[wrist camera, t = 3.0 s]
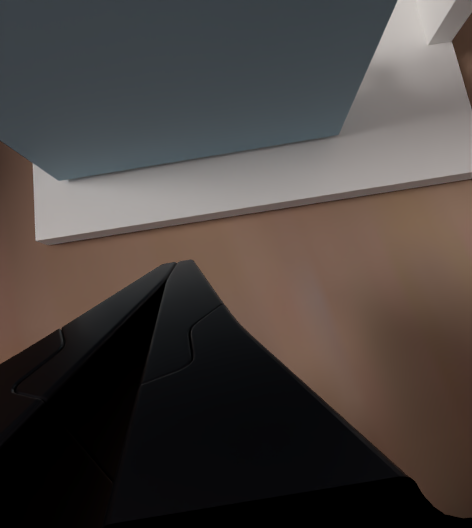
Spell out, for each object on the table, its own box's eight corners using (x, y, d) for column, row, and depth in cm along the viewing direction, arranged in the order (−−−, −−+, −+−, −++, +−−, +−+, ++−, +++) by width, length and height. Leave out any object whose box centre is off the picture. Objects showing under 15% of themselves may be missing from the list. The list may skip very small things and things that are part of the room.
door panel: (338, 134, 16) (468, -160, 6) (58, 181, 17) (-234, -22, 7) (323, 62, 17) (417, -306, 7) (54, 109, 17) (-216, -170, 7)
